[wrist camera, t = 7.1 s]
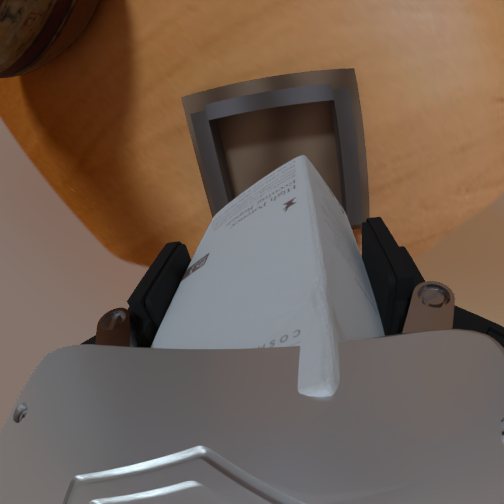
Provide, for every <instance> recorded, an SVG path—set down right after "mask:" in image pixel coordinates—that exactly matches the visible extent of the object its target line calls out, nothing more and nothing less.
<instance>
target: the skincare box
mask: <svg viewBox="0 0 504 504" xmlns="http://www.w3.org/2000/svg"><path fill="white" fill-rule="evenodd" d="M381 336H385V334H384V330H383V326H382V322H381V318H380V315H379V311H378V307H377V304H376V300H375V297H374V294H373V291H372V287H371V284H370V281H369V278H368V275H367V272H366V269H365V266H364V263H363V260H362V257H361V254H360V251H359V248H358V245H357V242H356V239H355V237H354V234H353V231H352V229H351V226H350V223H349V220H348V217H347V215H346V213H345V211H344V210H343V208H342V207H341V205H340V204H339V202H338V200H337V199H336V197H335V196H334V194H333V193H332V191H331V190H330V188H329V187H328V186H327V184H326V183H325V181H324V180H323V178H322V177H321V176H320V174H319V173H318V171H317V170H316V169H315V167H314V166H313V164H312V163H311V162H310V161H309V159H308V158H307V157H306V156H304V155H301V156H298V157H296V158H294V159H293V160H291V161H289V162H287V163H286V164H284V165H282V166H281V167H279V168H277V169H276V170H274V171H273V172H271V173H270V174H268V175H267V176H265V177H264V178H262V179H261V180H259V181H258V182H256V183H255V184H254V185H252V186H251V187H249V188H248V189H247V190H245V191H244V192H243V193H241V194H240V195H239V196H237V197H236V198H235V199H234V200H232V201H231V202H230V203H228V204H227V205H226V206H225V207H223V208H222V209H221V210H220V211H219V212H218V213H217V214H216V215H215V216H214V217H213V219H212V221H211V223H210V225H209V227H208V229H207V230H206V232H205V234H204V236H203V238H202V240H201V242H200V244H199V246H198V248H197V250H196V252H195V254H194V256H193V258H192V260H191V262H190V264H189V266H188V268H187V270H186V272H185V274H184V276H183V278H182V280H181V282H180V284H179V287H178V289H177V291H176V293H175V295H174V297H173V299H172V301H171V304H170V306H169V308H168V310H167V312H166V314H165V316H164V318H163V321H162V323H161V325H160V327H159V329H158V332H157V334H156V336H155V339H154V341H153V343H152V345H151V348H170V349H244V348H268V347H286V346H300V356H299V371H298V392H299V393H301V394H304V395H307V396H316V397H326V396H332V395H333V394H334V393H335V391H336V390H337V388H338V386H339V381H340V368H339V353H338V342H342V341H350V340H359V339H366V338H374V337H381Z"/></svg>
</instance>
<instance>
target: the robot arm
mask: <svg viewBox="0 0 504 504" xmlns="http://www.w3.org/2000/svg"><path fill="white" fill-rule="evenodd" d="M362 260H363V263H364V266H365V269H366V272H367V275H368V278H369V281H370V284H371V287H372V291H373V294H374V297H375V300H376V304H377V307H378V311H379V315H380V318H381V322H382V326H383V330H384V334H385V336H381V337H374V338H366V339H359V340H350V341H342V342H338V353H339V368H340V381H339V386H338V388H337V390H336V391H335V393H334V394H333V395H332V396H326V397H316V396H307V395H304V394H301V393H299V392H298V371H299V356H300V346H286V347H268V348H244V349H170V348H151V345H152V343H153V341H154V339H155V336H156V334H157V332H158V329H159V327H160V325H161V323H162V321H163V318H164V316H165V314H166V312H167V310H168V308H169V306H170V304H171V301H172V299H173V297H174V295H175V293H176V291H177V289H178V287H179V284H180V282H181V280H182V278H183V276H184V274H185V272H186V270H187V268H188V266H189V264H190V262H191V259H190V256H189V253H188V250H187V247H186V246H185V244H182V243H181V242H180V241H179V242H172V243H167V244H166V245H165V246H164V248H163V249H162V251H161V252H160V254H159V255H158V256H157V258H156V259H155V261H154V262H153V264H152V265H151V266H150V268H149V269H148V271H147V272H146V274H145V276H144V277H143V278H142V280H141V281H140V283H139V284H138V286H137V287H136V289H135V290H134V292H133V293H132V295H131V296H130V298H129V299H128V301H127V302H128V304H129V306H130V307H129V308H128V310H127V309H125V308H116V309H113V310H111V311H109V312H107V313H106V314H104V316H103V317H101V319H100V320H99V322H98V325H97V332H96V335H95V336H94V337H92V338H90V339H89V340H87V341H85V342H83V343H81V344H80V345H72V346H67V347H63V348H60V349H57V350H55V351H53V352H51V353H49V354H47V355H46V356H45V357H44V358H43V360H42V361H41V362H40V363H39V365H38V366H37V367H36V369H35V370H34V372H33V373H32V375H31V376H30V378H29V379H28V381H27V382H26V384H25V386H24V387H23V389H22V391H21V393H20V395H19V396H18V398H17V400H16V402H15V403H14V405H13V407H12V409H11V411H10V413H9V415H8V417H7V419H6V422H5V424H4V426H3V428H2V430H1V432H0V504H504V327H502V326H500V325H498V324H496V323H494V322H492V321H489V320H487V319H485V318H483V317H480V316H478V315H476V314H473V313H471V312H468V311H466V310H464V309H462V308H459V307H457V306H455V305H454V303H455V297H454V293H453V292H452V290H451V289H450V288H449V287H448V286H446V285H444V284H443V283H440V282H436V281H427V282H425V280H424V279H423V277H422V275H421V273H420V272H419V270H418V268H417V266H416V265H415V263H414V261H413V260H412V258H411V256H410V255H409V253H408V251H407V250H406V248H405V247H403V246H401V247H399V246H398V245H397V243H396V241H395V240H394V238H393V236H392V235H391V233H390V231H389V230H388V228H387V227H386V225H385V223H384V222H383V220H382V219H381V217H375V218H367V219H366V222H362Z"/></svg>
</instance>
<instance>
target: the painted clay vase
mask: <svg viewBox="0 0 504 504" xmlns="http://www.w3.org/2000/svg"><path fill="white" fill-rule="evenodd" d="M98 1H99V0H0V78H8V77H14V76H19V75H22V74H25V73H28V72H31V71H34V70H36V69H38V68H40V67H42V66H43V65H45V64H47V63H49V62H50V61H51V60H53V59H54V58H56V57H57V56H58V55H59V54H61V53H62V52H63V51H64V50H65V49H67V48H68V47H69V46H70V45H71V44H72V43H73V42H74V41H75V40H76V39H77V38H78V36H79V35H80V34H81V33H82V32H83V31H84V29H85V27H86V26H87V24H88V23H89V21H90V19H91V17H92V15H93V13H94V11H95V9H96V7H97V4H98Z"/></svg>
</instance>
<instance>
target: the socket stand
mask: <svg viewBox="0 0 504 504" xmlns="http://www.w3.org/2000/svg"><path fill="white" fill-rule="evenodd" d="M181 98H182V102H183V106H184V111H185V115H186V119H187V123H188V127H189V131H190V135H191V138H192V142H193V146H194V150H195V154H196V158H197V162H198V165H199V169H200V173H201V177H202V181H203V184H204V188H205V192H206V195H207V199H208V203H209V206H210V210H211V214H212V217H214V216H215V215H216V214H217V213H218V212H219V211H220V210H221V209H222V208H223V207H225V206H226V205H227V204H228V203H230V202H231V201H232V200H234V199H235V198H236V197H237V196H239V195H240V194H241V193H243V192H244V191H245V190H247V189H248V188H249V187H251V186H252V185H254V184H255V183H256V182H258V181H259V180H261V179H262V178H264V177H265V176H267V175H268V174H270V173H271V172H273V171H274V170H276V169H277V168H279V167H281V166H282V165H284V164H286V163H287V162H289V161H291V160H293V159H294V158H296V157H298V156H301V155H304V156H306V157H307V158H308V159H309V161H310V162H311V163H312V164H313V166H314V167H315V169H316V170H317V171H318V173H319V174H320V176H321V177H322V178H323V180H324V181H325V183H326V184H327V186H328V187H329V188H330V190H331V191H332V193H333V194H334V196H335V197H336V199H337V200H338V202H339V204H340V205H341V207H342V208H343V210H344V211H345V213H346V215H347V217H348V220H349V223H350V226H351V229H357V228H362V222H366V219H367V218H369V192H368V174H367V161H366V149H365V139H364V130H363V122H362V114H361V107H360V100H359V93H358V87H357V81H356V76H355V70H354V68H351V69H333V70H321V71H310V72H301V73H293V74H286V75H279V76H272V77H266V78H261V79H255V80H250V81H245V82H240V83H235V84H231V85H226V86H222V87H218V88H214V89H210V90H206V91H202V92H199V93H195V94H191V95H188V96H185V97H181Z"/></svg>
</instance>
